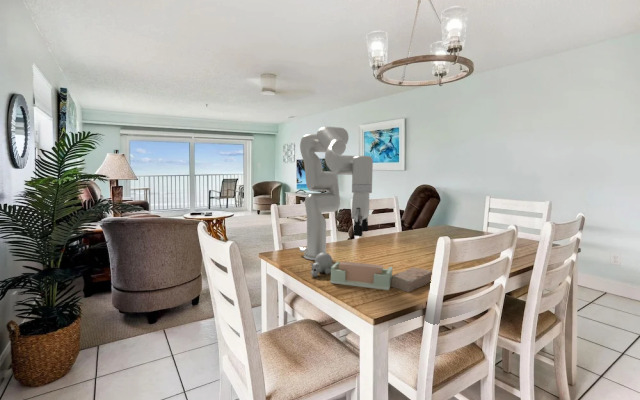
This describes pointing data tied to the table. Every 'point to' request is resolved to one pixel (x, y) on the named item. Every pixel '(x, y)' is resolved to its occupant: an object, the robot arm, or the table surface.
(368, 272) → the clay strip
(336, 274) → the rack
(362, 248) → the table surface
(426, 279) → the brick
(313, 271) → the chubby cartoon animal
